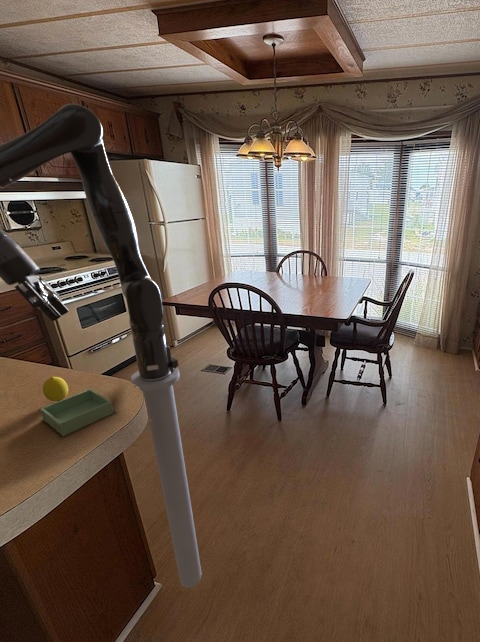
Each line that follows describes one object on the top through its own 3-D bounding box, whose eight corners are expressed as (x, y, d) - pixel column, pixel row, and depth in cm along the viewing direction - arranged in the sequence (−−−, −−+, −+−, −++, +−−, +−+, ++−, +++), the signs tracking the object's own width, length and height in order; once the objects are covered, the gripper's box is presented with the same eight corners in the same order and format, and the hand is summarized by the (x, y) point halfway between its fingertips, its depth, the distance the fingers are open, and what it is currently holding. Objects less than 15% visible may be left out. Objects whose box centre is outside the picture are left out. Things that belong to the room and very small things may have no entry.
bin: (93, 399, 99) (90, 388, 97) (114, 412, 93) (111, 401, 92) (43, 420, 89) (39, 408, 88) (63, 436, 84) (59, 424, 82)
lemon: (49, 398, 98) (41, 374, 95) (72, 394, 101) (65, 370, 98) (45, 408, 94) (36, 383, 91) (69, 404, 96) (62, 379, 93)
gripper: (14, 252, 76) (69, 312, 83) (34, 252, 88) (80, 304, 95) (-21, 270, 74) (39, 329, 81) (4, 267, 86) (54, 319, 93)
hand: (61, 316), depth 88 cm, fingers open, 8 cm apart
